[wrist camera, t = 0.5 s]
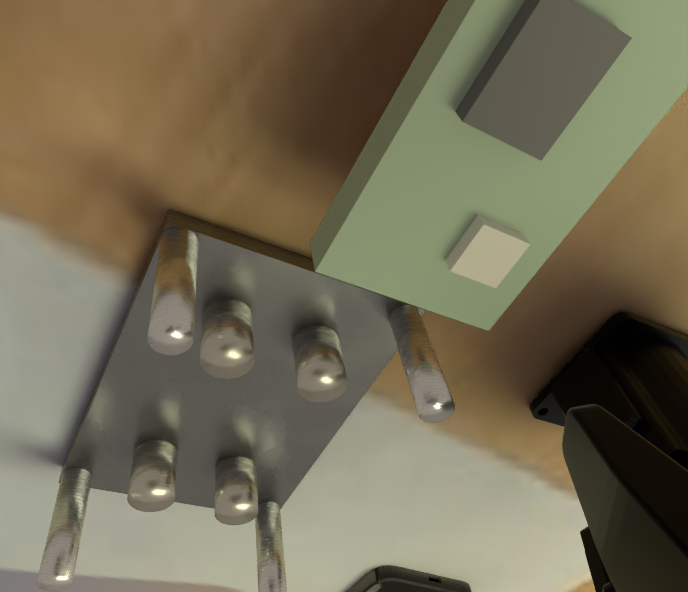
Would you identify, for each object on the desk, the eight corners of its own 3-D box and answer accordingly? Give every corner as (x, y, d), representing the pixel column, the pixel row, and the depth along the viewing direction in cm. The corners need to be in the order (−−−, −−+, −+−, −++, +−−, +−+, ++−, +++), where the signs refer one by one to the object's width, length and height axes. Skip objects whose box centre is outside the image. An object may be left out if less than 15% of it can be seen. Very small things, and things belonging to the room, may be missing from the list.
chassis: (420, 297, 25) (462, 402, 21) (272, 503, 32) (280, 614, 27) (169, 209, 21) (155, 316, 17) (62, 467, 28) (33, 589, 24)
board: (703, 8, 16) (756, 31, 14) (474, 302, 21) (494, 343, 19) (518, -126, 13) (557, -115, 12) (309, 243, 18) (317, 284, 17)
